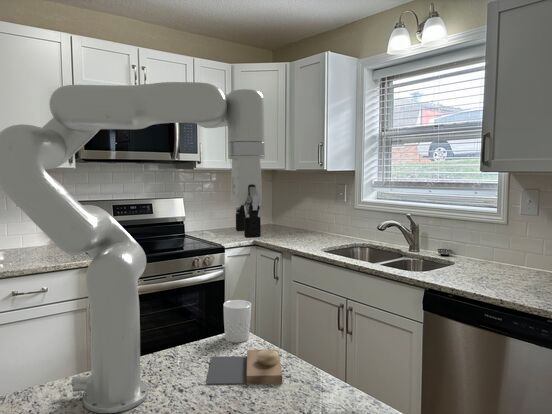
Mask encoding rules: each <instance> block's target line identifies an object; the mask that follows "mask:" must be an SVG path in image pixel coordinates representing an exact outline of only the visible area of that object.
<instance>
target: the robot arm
mask: <svg viewBox="0 0 552 414" xmlns="http://www.w3.org/2000/svg"><path fill="white" fill-rule="evenodd" d="M48 105H49V109H50V113H51V115H52V118H51V119H50V120H49V121H48V122H46V124H44V125H43V126H42V127H41V126H36V125H33V124H21V123H20V124H13V125H10V126H8V127H6V128H4V129H2V131H0V189H1V191H2V192H3V193H4V194H5V195H6V196H7V198H9V199H10V200H11V201H12V202H13V203H14V204H15V205H16V206H17V207H18V208H19V209H20V210H21V211H22V212H24V214H25V215H26V216H27V217H28V218H29V219H30V220H31V221H32V223H34V225H36V226H37V227H38V228H39V229H40V231H41V232H43V233H44V234H45V236H47V237H48V238H49V239H50V241H51V242H53V244H55V246H57V247H58V249H60V250H61V251H62V252H64V253H65V254H68V255H70V256H80V255H84V254H86V253H87V255H89V257H90V258H91V261H90V262H89V265H88V266H87V270H86V275H85V276H86V277H85V281H86V283H85V284H86V285H85V286H86V290H87V296H88V297H87V298H88V304H89V326H90V327H89V328H90V364H91V365H90V367H91V368H90V371H91V374H89V375H88V376H86V377H85V376H73V377H72V379H71V383H70V385H71V386H72V391H73V392H84V395H83V396H82V397H83V399H82V401H83V402H82V403H83V406H84V407H85V408H86V409H87V410H88V411H91V412H94V413H97V414H113V413H114V414H115V413H119V412H120V413H121V412H124V411H127V410H130V409H133V408H135V407H137V406H138V405H140V404H141V403H143V402H144V401H145V400H146V398H147V397H148V395H149V387H148V385H147V383H146V382H144V381H143V380H141V324H140V323H141V322H140V318H141V317H140V299H139V285H138V284H139V279H140V277H142V275H143V274H144V272H145V270H146V266H147V255H146V253H145V251H144V249H143V247H142V246H141V245H140V244H139V242H137V241H136V240H135V239H134V238H133V236H131V234H130V233H129V232H128V231H127V230H126V229H125V228H124V227H123V226H122V225H121V224H120V223H119V222H118V221H117V219H115V218H114V217H113V216H112V215H111V214H110V213H109V212H107V211H106V210H105V209H103V208H101V207H99V206H97V205H93V204H81V203H80V202H79V201H78V199H76V198H75V197H74V196H72V194H71V193H70V192H69V191H68V190H67V188H65V187H64V186H63V185H62V184H61V183H60V182H58V180H56V179H55V178H54V177H52V175H50V174H49V173H48V172H47V171H46V170H53V169H56V168H59V167H61V166H63V164H65V163H66V162H67V161H68V160H70V159H71V158H72V157H73V156H74V155H75V154H77V153H78V151H79V150H81V149H82V148H83V147H84V146H85V145H86V144H87V143H88V142H89V141H90V140H91V139H93V137H95V135H96V134H98V132H99V131H100V130H142V129H146V128H148V127H150V126H153V125H160V124H170V123H171V124H172V123H173V124H176V123H177V124H179V123H181V124H185V123H186V124H196V125H198V126H199V127H202V128H203V129H216V128H223V127H227V155H228V156H227V157H228V158H227V159H228V160H232V162H231V175H230V177H231V178H230V180H231V181H230V183H231V184H230V203H231V205H233V206H234V207H235V230H236V232H243V233H244V236H243V237H244V238H246V239H250V238H251V239H252V238H253V239H255V238H260V237H261V236H262V234H261V233H262V230H261V228H262V227H261V211H260V209H261V208H260V206H261V205H262V196H263V195H262V194H263V193H262V192H263V190H262V186H263V185H262V166H261V165H262V164H261V159H262V160H264V159H265V158H266V157H265V156H266V155H265V150H266V149H265V99H264V95H263V93H262V92H260V91H259V90H255V89H250V88H249V89H247V88H243V89H241V88H240V89H235V90H232V91H230V92H229V93H227V94H226V93H224V92H223V91H222V90H221V89H220V88H219V87H218V86H216V85H214V84H213V83H209V82H197V81H196V82H195V81H194V82H193V81H192V82H191V81H190V82H188V81H166V82H164V81H163V82H162V81H161V82H154V83H153V82H152V83H144V84H136V85H135V84H134V85H132V84H131V85H125V84H124V85H123V84H121V85H119V84H118V85H117V84H115V85H113V84H112V85H111V84H109V85H107V84H67V85H63V86H60V87H58V88H57V89H55V90H54V91H53V92H52V94H51V96H50V98H49V104H48Z"/></svg>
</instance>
